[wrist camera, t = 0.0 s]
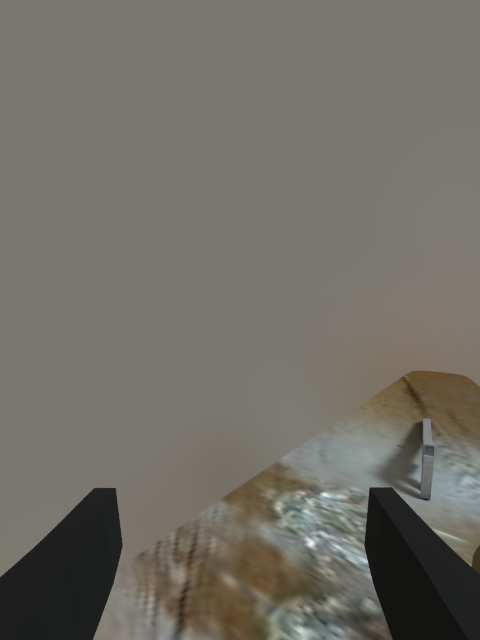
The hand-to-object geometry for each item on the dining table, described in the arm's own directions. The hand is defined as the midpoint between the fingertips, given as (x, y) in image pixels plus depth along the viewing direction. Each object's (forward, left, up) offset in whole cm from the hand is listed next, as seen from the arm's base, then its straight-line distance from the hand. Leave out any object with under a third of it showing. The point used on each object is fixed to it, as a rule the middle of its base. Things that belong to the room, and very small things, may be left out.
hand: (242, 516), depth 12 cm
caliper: (+41, -23, -22) cm, 52 cm away
